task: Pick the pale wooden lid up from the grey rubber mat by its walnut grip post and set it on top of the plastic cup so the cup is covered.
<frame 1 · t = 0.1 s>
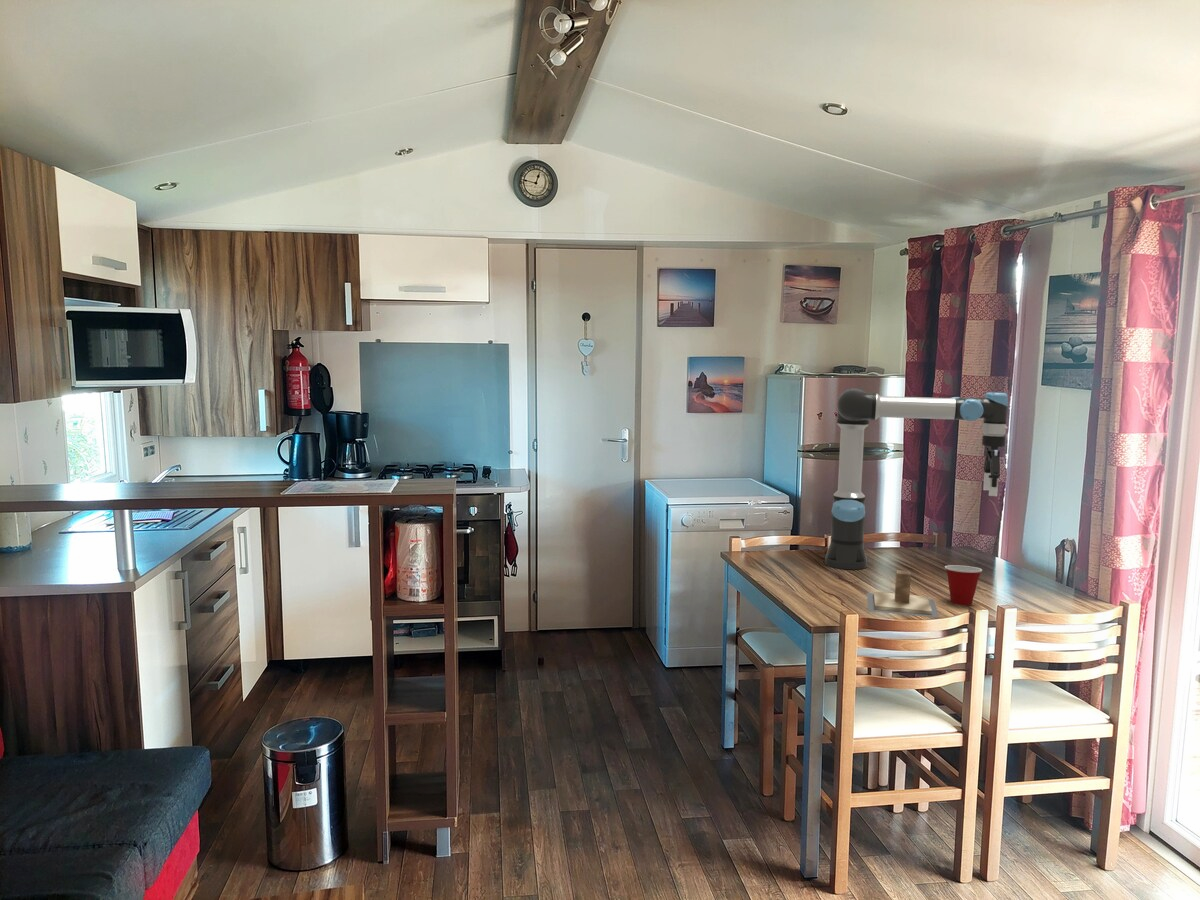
hand: (990, 493, 303), 28 cm above the table, tool pointing down, fingers open, 13 cm apart
plastic cup: (960, 604, 259), on the table
lid: (901, 604, 255), point 1 cm above the table, touching mat
mat: (901, 607, 255), on the table
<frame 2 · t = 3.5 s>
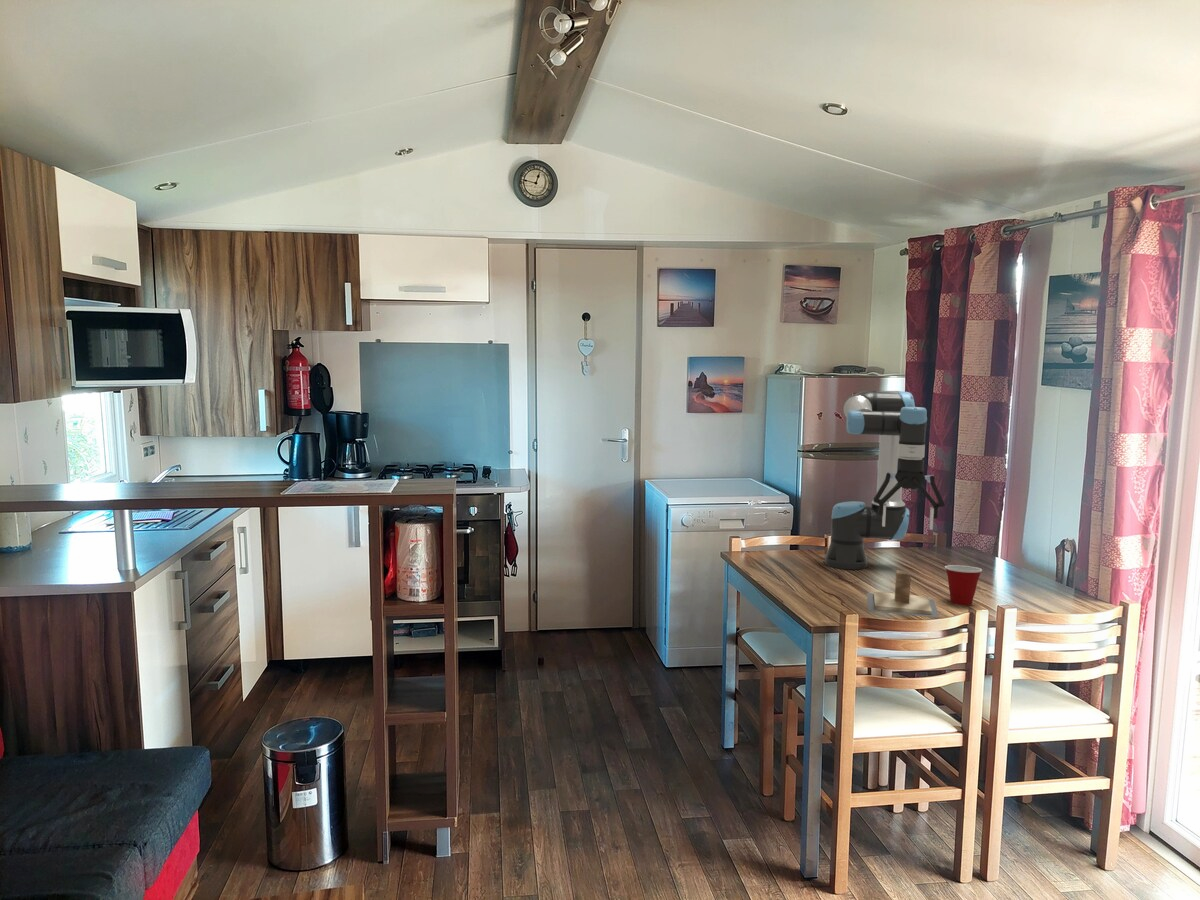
hand: (907, 527, 252), 25 cm above the table, tool pointing down, fingers open, 13 cm apart
nothing on the table moved.
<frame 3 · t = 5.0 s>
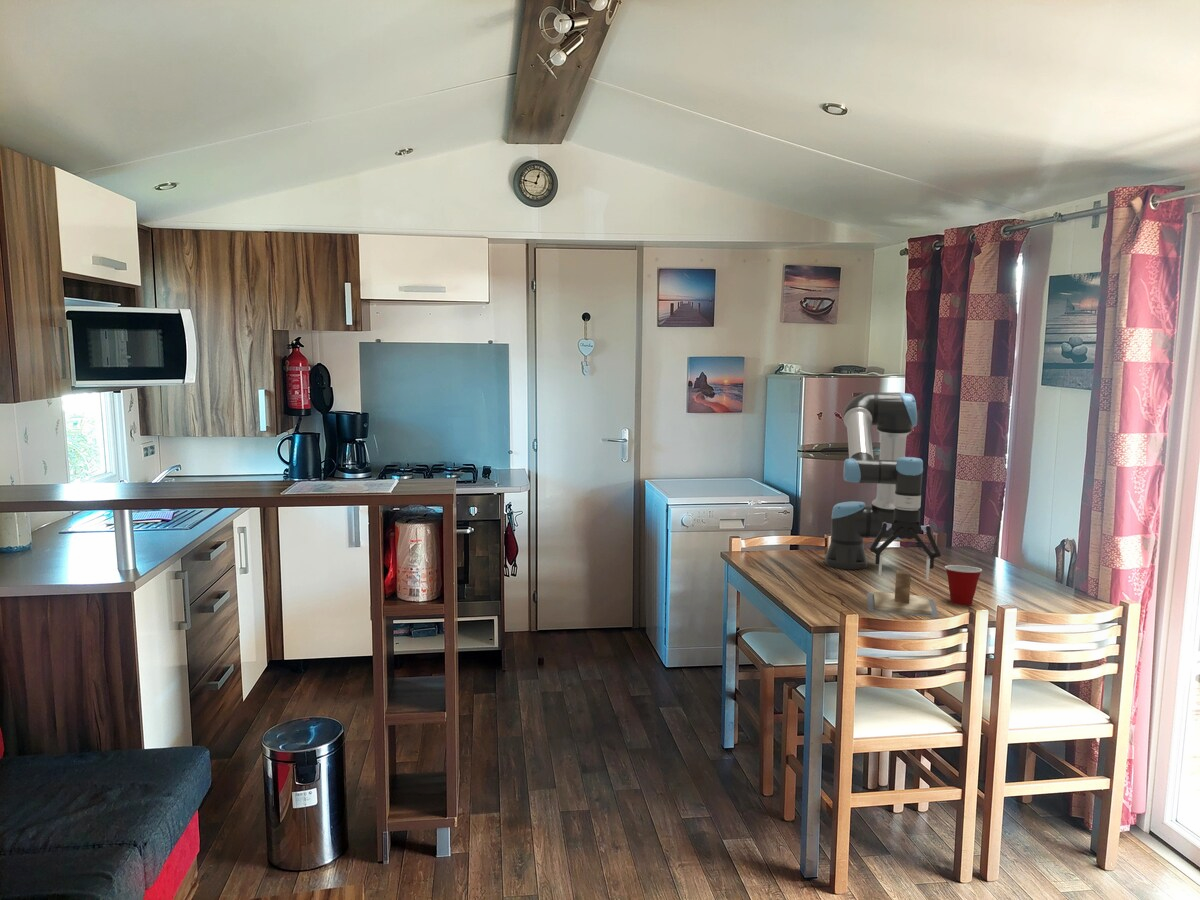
hand: (903, 577, 253), 10 cm above the table, tool pointing down, fingers open, 13 cm apart
nothing on the table moved.
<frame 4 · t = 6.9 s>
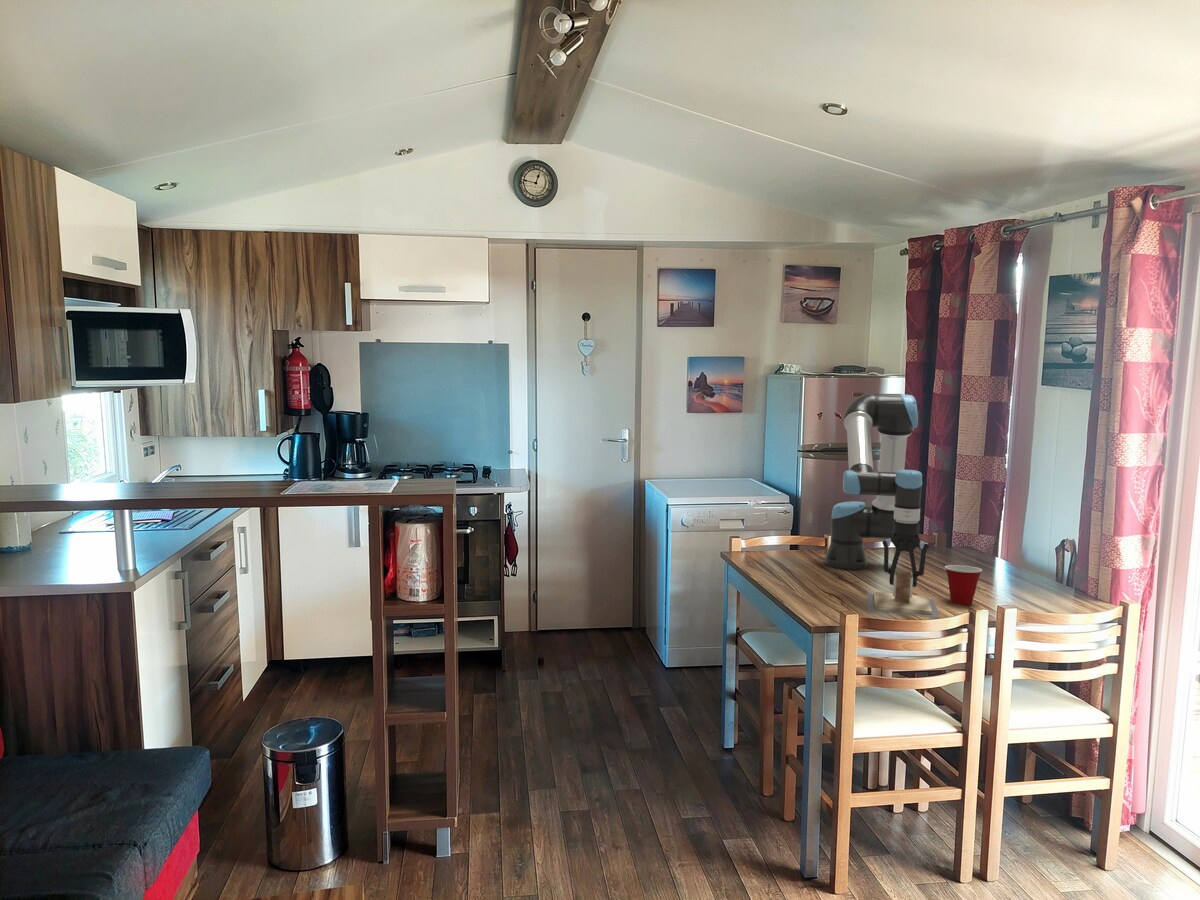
hand: (902, 595, 254), 4 cm above the table, tool pointing down, fingers closed on lid, 4 cm apart
lid: (901, 604, 255), point 1 cm above the table, touching gripper, mat
everything else where it was.
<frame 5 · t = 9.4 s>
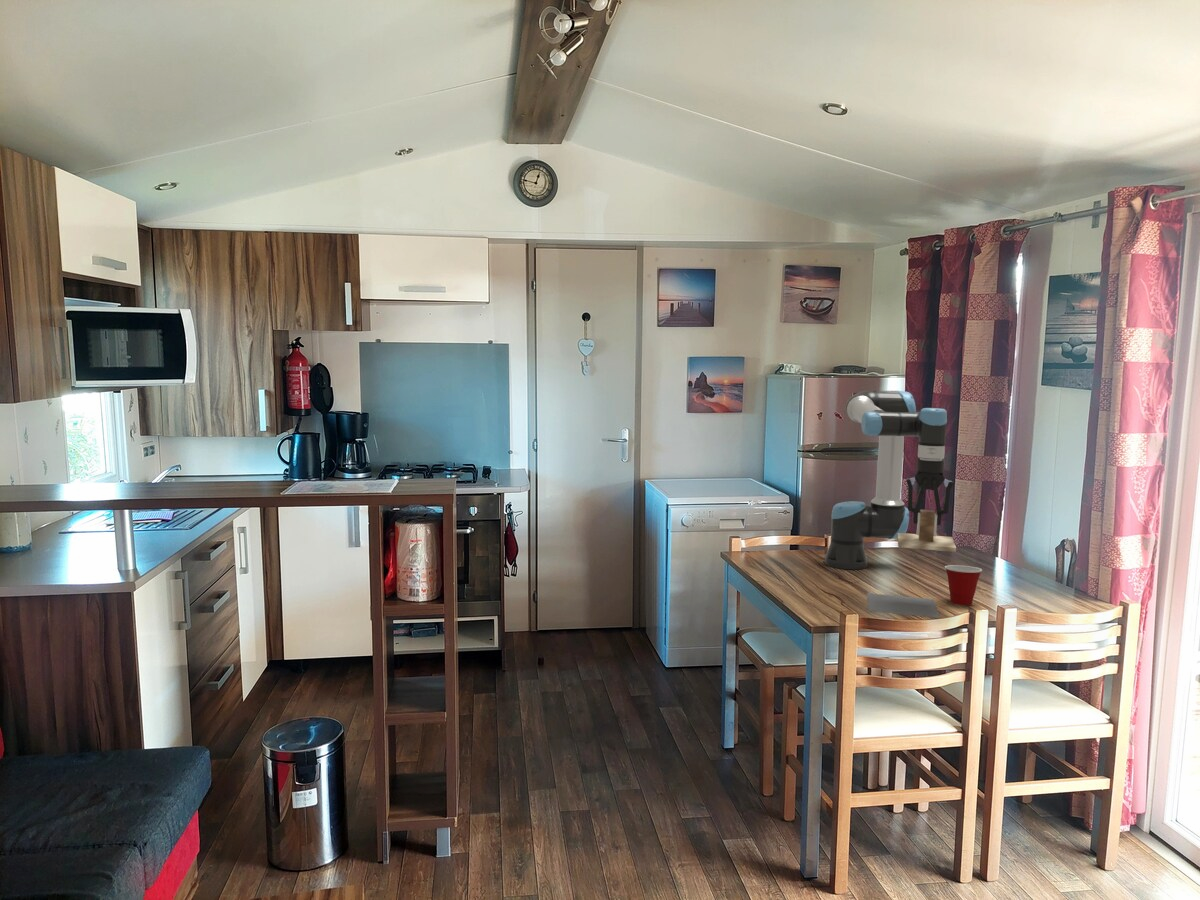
hand: (926, 534, 254), 23 cm above the table, tool pointing down, fingers closed on lid, 4 cm apart
lid: (925, 543, 254), point 20 cm above the table, touching gripper
everything else where it was.
when the fingers open (16 cm above the table, at t = 12.0 s): lid drops 1 cm, resting on plastic cup.
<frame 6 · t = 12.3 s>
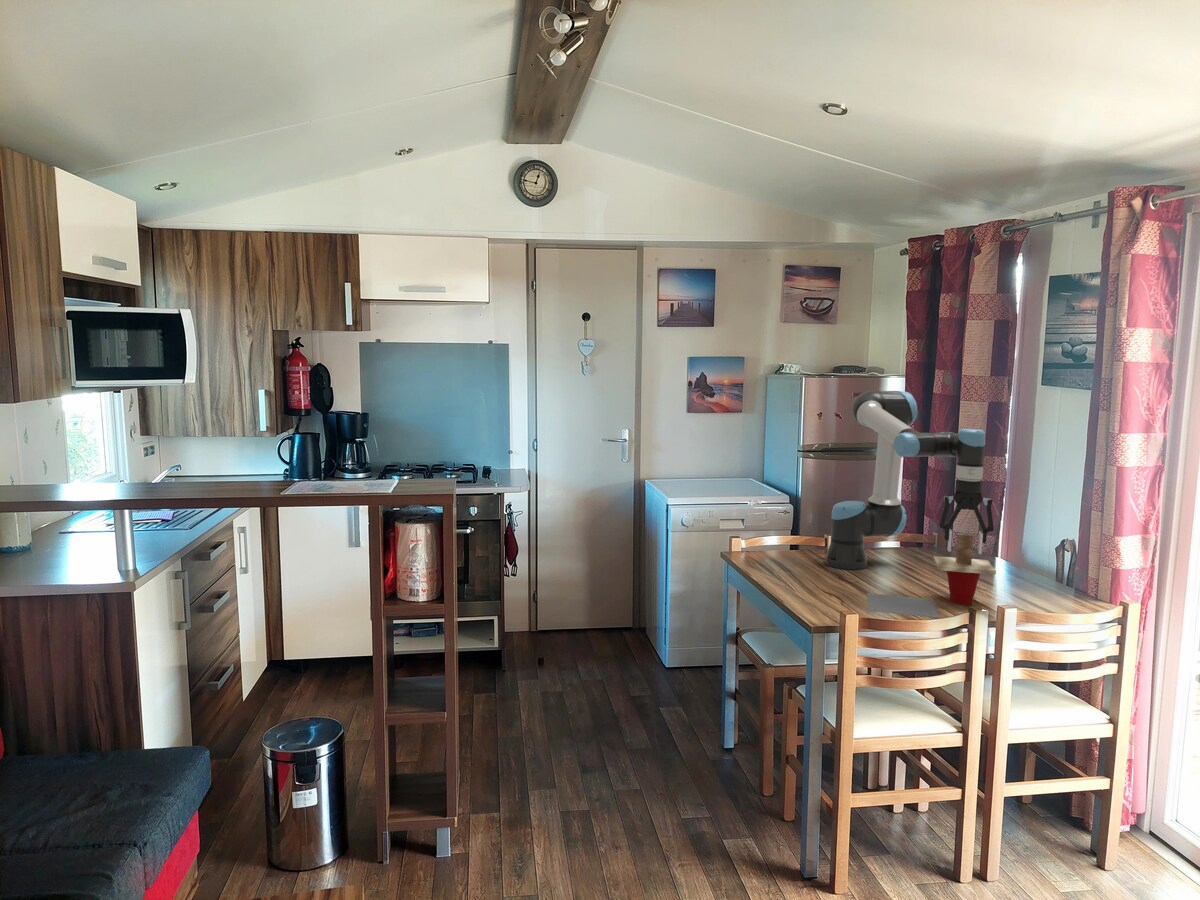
hand: (964, 551, 257), 17 cm above the table, tool pointing down, fingers open, 8 cm apart
plastic cup: (960, 604, 259), on the table, touching lid
lid: (963, 566, 258), point 12 cm above the table, touching plastic cup
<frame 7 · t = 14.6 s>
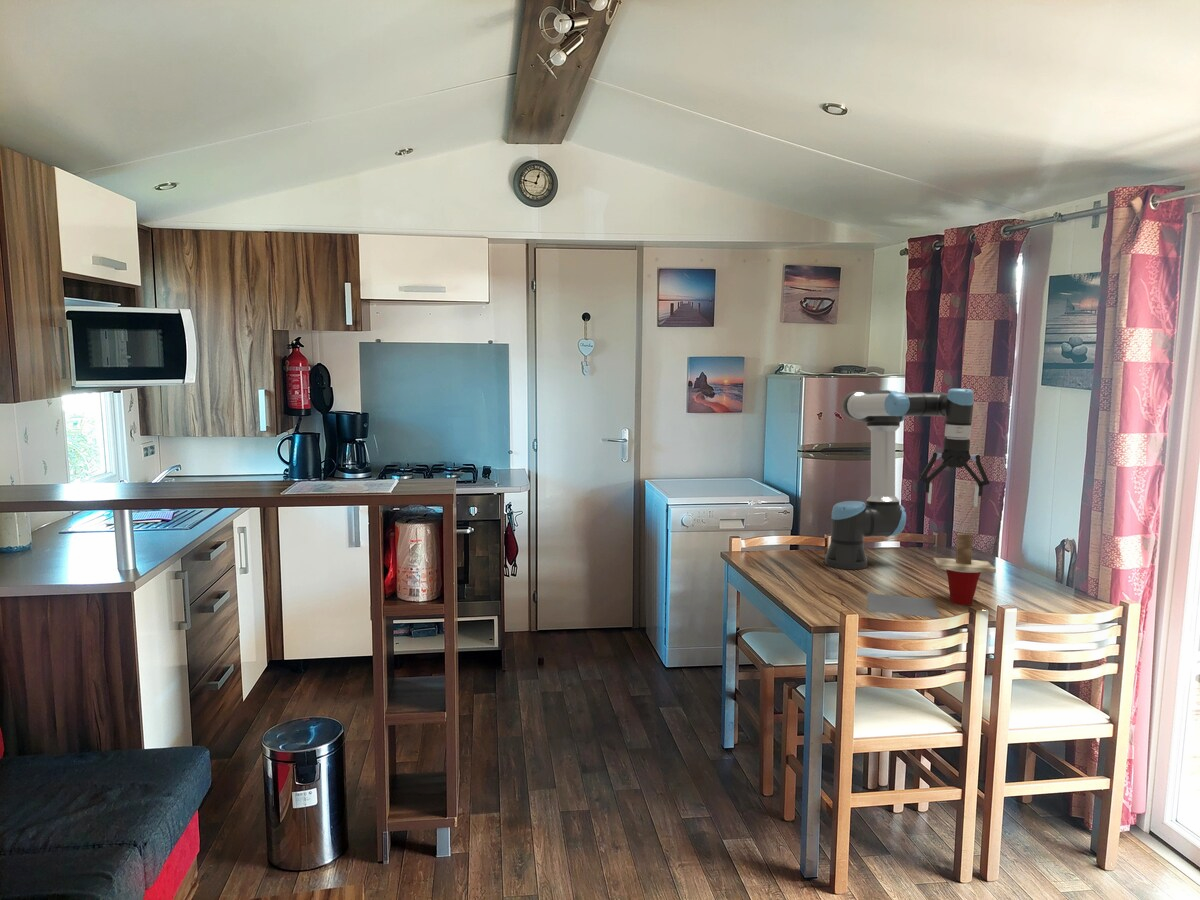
hand: (952, 504, 263), 30 cm above the table, tool pointing down, fingers open, 13 cm apart
nothing on the table moved.
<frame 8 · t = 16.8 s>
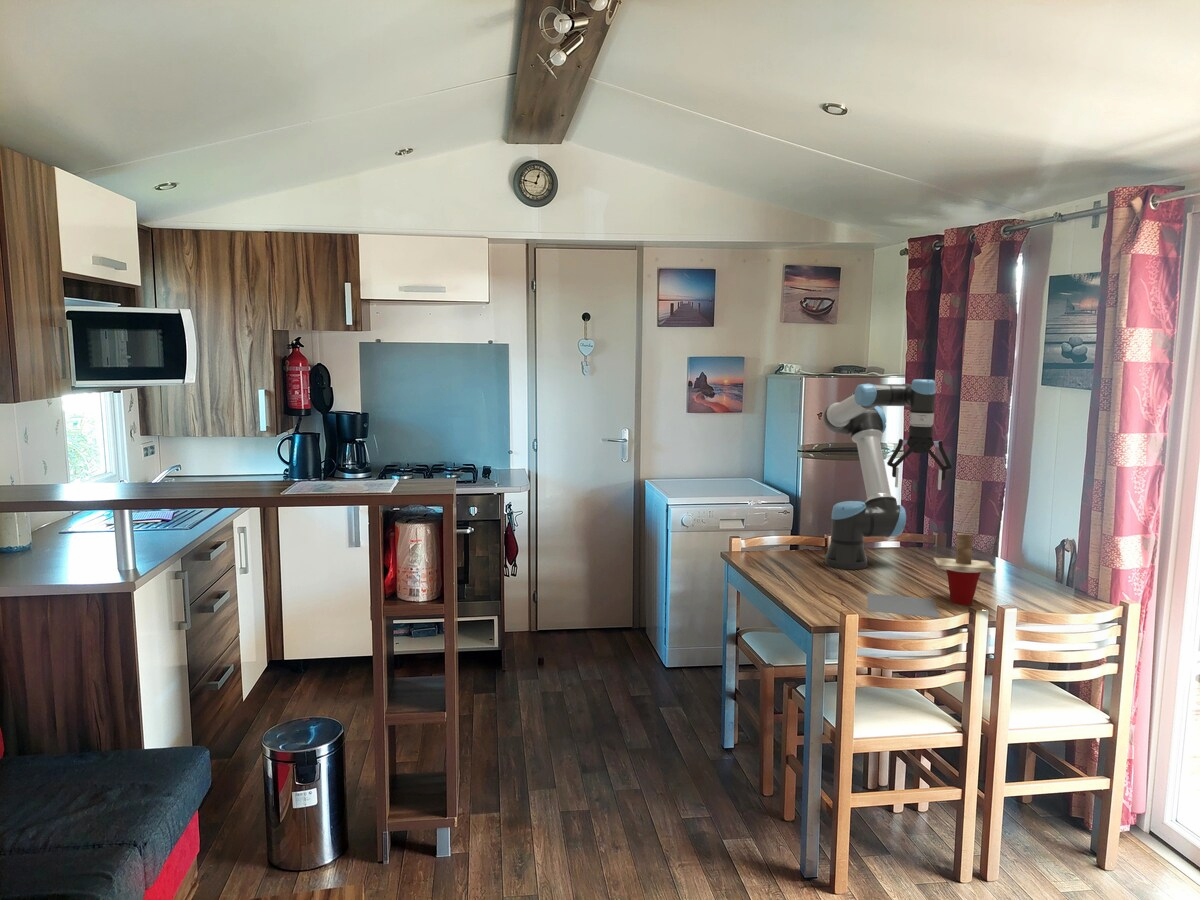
hand: (917, 488, 280), 33 cm above the table, tool pointing down, fingers open, 13 cm apart
nothing on the table moved.
at the end: lid 0.0 cm off-centre on the plastic cup, point 12.2 cm above the plastic cup's base; lid tilted 5°; plastic cup tilted 0° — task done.
